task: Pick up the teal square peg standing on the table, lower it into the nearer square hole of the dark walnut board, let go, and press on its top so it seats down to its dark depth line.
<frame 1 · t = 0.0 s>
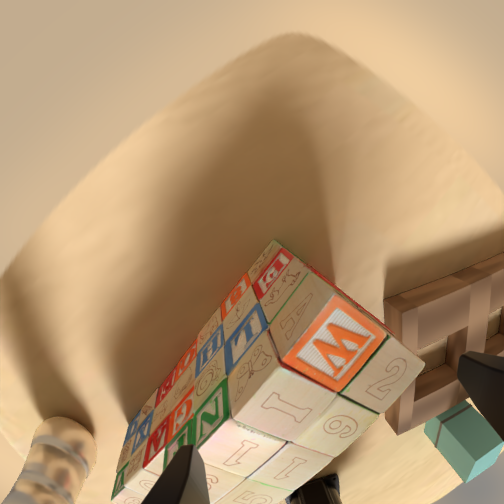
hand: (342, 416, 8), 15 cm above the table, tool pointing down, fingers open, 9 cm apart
stack of blocks: (220, 366, 24), on the table
plastic bottle: (73, 430, 24), on the table
teal peg: (440, 412, 29), on the table
walnut board: (458, 334, 26), on the table
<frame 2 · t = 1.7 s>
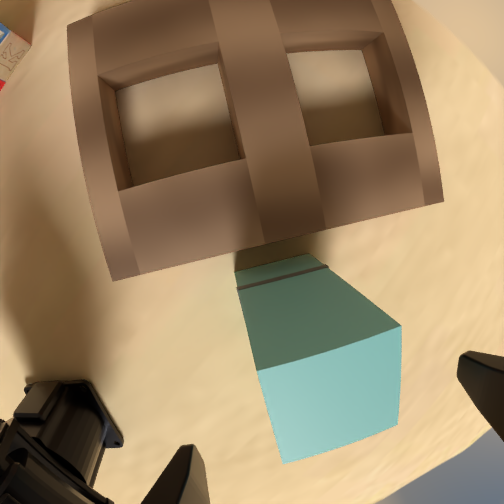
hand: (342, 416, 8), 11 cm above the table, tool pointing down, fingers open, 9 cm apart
teal peg: (279, 297, 18), on the table
walnut board: (255, 105, 16), on the table
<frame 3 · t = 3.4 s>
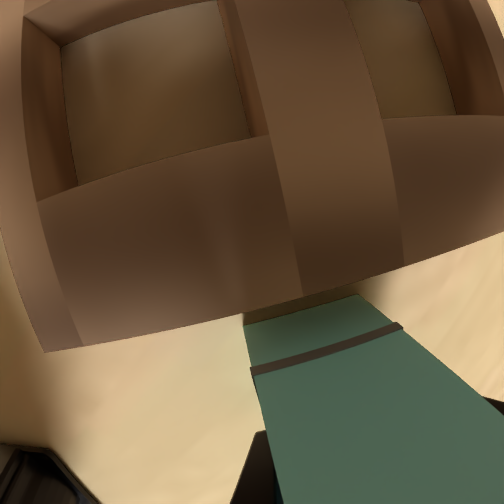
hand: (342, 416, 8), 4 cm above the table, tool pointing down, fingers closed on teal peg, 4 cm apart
teal peg: (311, 359, 12), on the table, touching gripper
walnut board: (277, 59, 9), on the table
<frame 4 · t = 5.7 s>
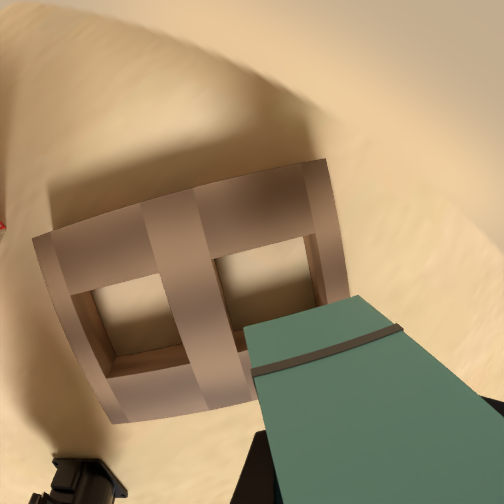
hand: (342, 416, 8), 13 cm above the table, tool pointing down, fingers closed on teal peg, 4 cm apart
teal peg: (311, 360, 12), point 10 cm above the table, touching gripper
walnut board: (201, 297, 21), on the table
when the fingers open (5 cm above the table, at t = 8.0 s): teal peg drops 1 cm, resting in walnut board.
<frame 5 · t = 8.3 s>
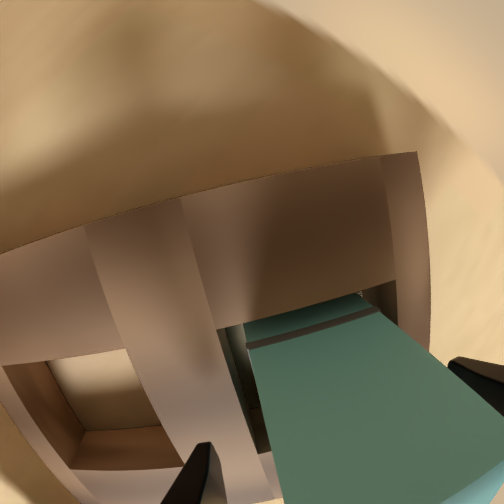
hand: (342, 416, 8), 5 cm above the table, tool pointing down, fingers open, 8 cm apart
teal peg: (302, 342, 13), resting in walnut board
walnut board: (199, 367, 13), on the table
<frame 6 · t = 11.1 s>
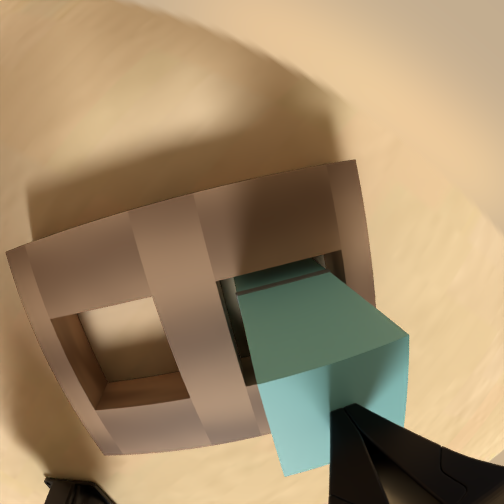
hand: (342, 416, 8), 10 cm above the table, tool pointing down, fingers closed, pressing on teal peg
teal peg: (279, 302, 18), resting in walnut board, touching gripper
walnut board: (202, 320, 18), on the table
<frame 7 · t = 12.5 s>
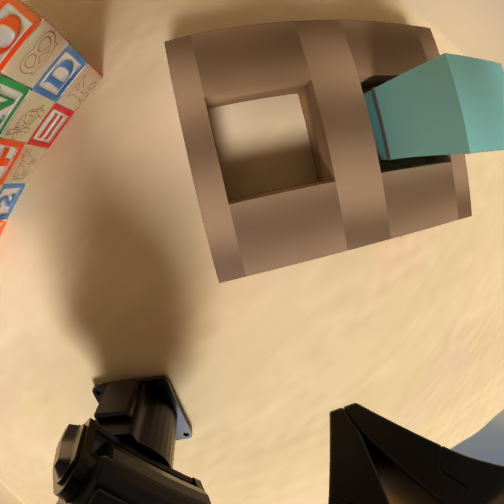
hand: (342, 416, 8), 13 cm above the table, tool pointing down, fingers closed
teal peg: (386, 127, 19), resting in walnut board
walnut board: (330, 133, 19), on the table
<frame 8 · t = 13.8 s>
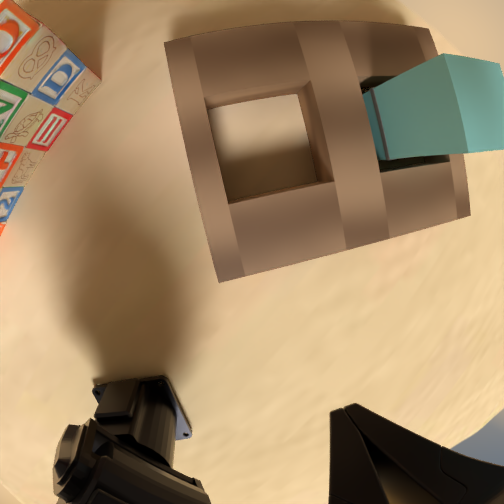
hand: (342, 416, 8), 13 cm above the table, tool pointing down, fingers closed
teal peg: (385, 127, 20), resting in walnut board
walnut board: (329, 133, 19), on the table
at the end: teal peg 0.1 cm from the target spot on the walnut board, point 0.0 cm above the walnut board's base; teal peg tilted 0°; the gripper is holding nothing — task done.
